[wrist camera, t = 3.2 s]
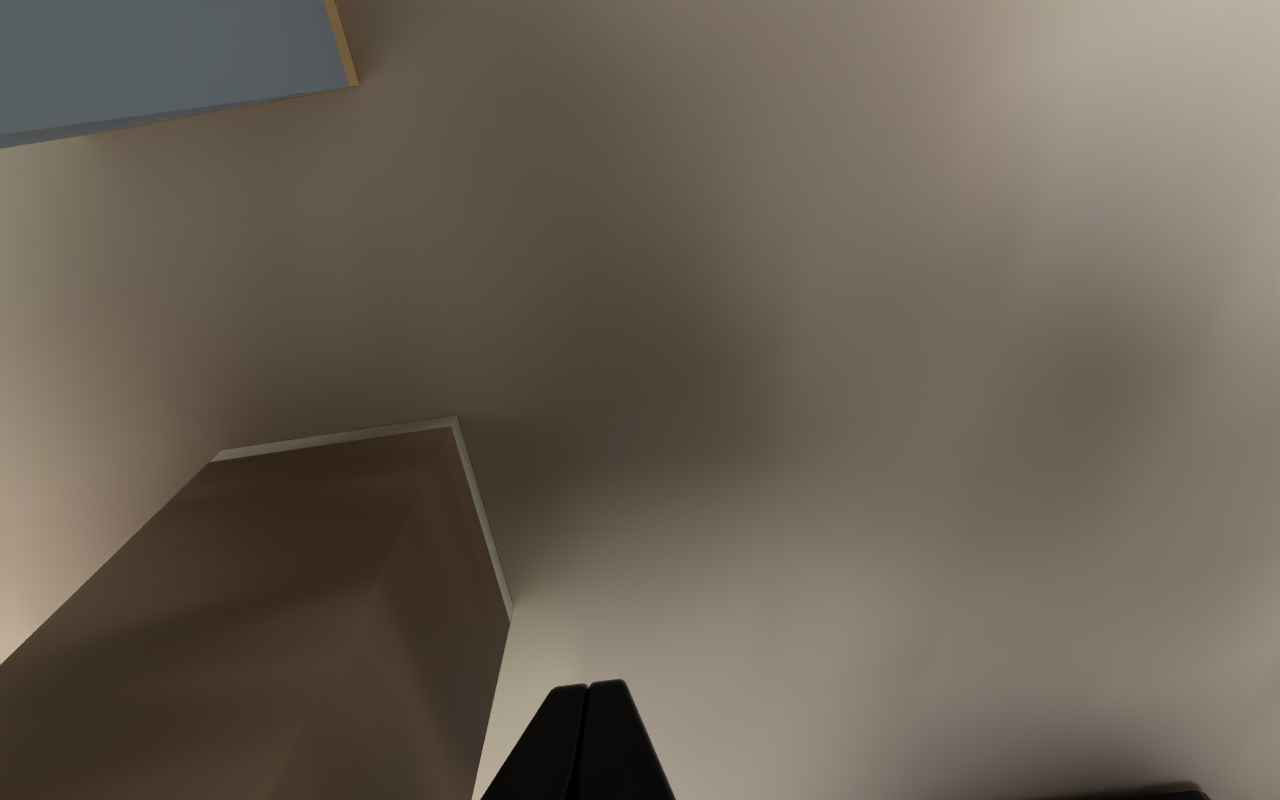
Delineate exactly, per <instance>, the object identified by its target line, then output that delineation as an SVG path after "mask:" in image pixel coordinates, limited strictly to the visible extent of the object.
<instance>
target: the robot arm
mask: <svg viewBox="0 0 1280 800" xmlns="http://www.w3.org/2000/svg"><path fill="white" fill-rule="evenodd" d="M481 800H676V799H675V796H674V794H673V792H672V789H671V787H670V785H669V782H668V780H667V778H666V775H665V773H664V771H663V768H662V766H661V764H660V761H659V759H658V757H657V754H656V752H655V750H654V747H653V745H652V743H651V740H650V738H649V736H648V733H647V731H646V729H645V726H644V724H643V722H642V719H641V717H640V715H639V712H638V710H637V708H636V705H635V703H634V701H633V698H632V696H631V694H630V691H629V689H628V687H627V684H626V683H625V681H624V680H622V679H615V680H607V681H598V682H593V683H592V684H591V685H590V687H588V685H586V684H573V685H565V686H558V687H555V688H554V689H552V690H551V691H550V693H549V694H548V696H547V697H546V699H545V700H544V702H543V703H542V705H541V706H540V708H539V710H538V711H537V713H536V714H535V716H534V717H533V719H532V720H531V722H530V724H529V725H528V727H527V728H526V730H525V731H524V733H523V734H522V736H521V738H520V739H519V741H518V742H517V744H516V745H515V747H514V748H513V750H512V752H511V753H510V755H509V756H508V758H507V759H506V761H505V762H504V764H503V765H502V767H501V769H500V770H499V772H498V773H497V775H496V776H495V778H494V779H493V781H492V783H491V784H490V786H489V787H488V789H487V790H486V792H485V793H484V795H483V797H482V798H481ZM1110 800H1211V799H1210V798H1209V797H1208V796H1207V795H1206V794H1205V793H1203V792H1200V791H1182V792H1173V793H1164V794H1155V795H1146V796H1137V797H1128V798H1119V799H1110Z"/></svg>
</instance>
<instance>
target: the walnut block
mask: <svg viewBox="0 0 1280 800" xmlns="http://www.w3.org/2000/svg"><path fill="white" fill-rule="evenodd" d="M512 613H513V604H512V601H511V598H510V594H509V591H508V587H507V584H506V581H505V577H504V574H503V570H502V567H501V564H500V560H499V557H498V553H497V550H496V547H495V543H494V540H493V537H492V533H491V530H490V526H489V523H488V520H487V516H486V513H485V509H484V506H483V503H482V499H481V496H480V492H479V489H478V486H477V482H476V479H475V475H474V472H473V469H472V465H471V462H470V458H469V455H468V452H467V448H466V445H465V441H464V438H463V435H462V431H461V428H460V424H459V421H458V418H457V415H452V416H446V417H439V418H432V419H426V420H419V421H412V422H406V423H399V424H392V425H386V426H379V427H373V428H366V429H359V430H353V431H346V432H339V433H333V434H326V435H319V436H313V437H306V438H299V439H293V440H286V441H279V442H273V443H266V444H259V445H253V446H246V447H239V448H233V449H226V450H221V451H220V452H219V453H218V454H217V455H216V456H215V457H214V458H213V459H212V460H211V461H210V462H209V463H208V464H207V465H206V466H205V467H204V468H203V469H202V470H201V471H200V472H199V473H198V474H197V475H196V476H195V477H193V478H192V479H191V480H190V481H189V482H188V483H187V484H186V485H185V486H184V487H183V488H182V489H181V490H180V491H179V492H178V493H177V494H176V495H175V496H174V497H173V498H172V499H171V500H170V501H169V502H168V503H167V504H166V505H165V506H164V507H163V508H162V509H161V510H159V511H158V512H157V513H156V514H155V515H154V516H153V517H152V518H151V519H150V520H149V521H148V522H147V523H146V524H145V525H144V526H143V527H142V528H141V529H140V530H139V531H138V532H137V533H136V534H135V535H134V536H133V537H132V538H131V539H130V540H129V541H128V542H127V543H126V544H124V545H123V546H122V547H121V548H120V549H119V550H118V551H117V552H116V553H115V554H114V555H113V556H112V557H111V558H110V559H109V560H108V561H107V562H106V563H105V564H104V565H103V566H102V567H101V568H100V569H99V570H98V571H97V572H96V573H95V574H94V575H93V576H92V577H91V578H89V579H88V580H87V581H86V582H85V583H84V584H83V585H82V586H81V587H80V588H79V589H78V590H77V591H76V592H75V593H74V594H73V595H72V596H71V597H70V598H69V599H68V600H67V601H66V602H65V603H64V604H63V605H62V606H61V607H60V608H59V609H58V610H57V611H56V612H54V613H53V614H52V615H51V616H50V617H49V618H48V619H47V620H46V621H45V622H44V623H43V624H42V625H41V626H40V627H39V628H38V629H37V630H36V631H35V632H34V633H33V634H32V635H31V636H30V637H29V638H28V639H27V640H26V641H25V642H24V643H23V644H22V645H20V646H19V647H18V648H17V649H16V650H15V651H14V652H13V653H12V654H11V655H10V656H9V657H8V658H7V659H6V660H5V661H4V662H3V663H2V664H1V665H0V800H471V799H472V794H473V790H474V785H475V781H476V776H477V771H478V767H479V762H480V758H481V753H482V749H483V744H484V740H485V735H486V731H487V726H488V722H489V717H490V712H491V708H492V703H493V699H494V694H495V690H496V685H497V681H498V676H499V672H500V667H501V663H502V658H503V653H504V649H505V644H506V640H507V635H508V631H509V626H510V622H511V617H512Z"/></svg>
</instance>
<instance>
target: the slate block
mask: <svg viewBox="0 0 1280 800" xmlns="http://www.w3.org/2000/svg"><path fill="white" fill-rule="evenodd" d="M358 85H359V81H358V78H357V75H356V71H355V68H354V64H353V61H352V58H351V54H350V51H349V47H348V44H347V41H346V37H345V34H344V30H343V27H342V24H341V20H340V17H339V13H338V10H337V7H336V3H335V0H0V149H1V148H7V147H13V146H20V145H26V144H32V143H38V142H45V141H51V140H57V139H64V138H70V137H76V136H82V135H88V134H93V133H99V132H104V131H110V130H115V129H121V128H126V127H132V126H137V125H143V124H148V123H154V122H159V121H165V120H171V119H176V118H182V117H187V116H193V115H198V114H204V113H209V112H215V111H220V110H226V109H231V108H237V107H242V106H248V105H253V104H259V103H264V102H270V101H275V100H281V99H286V98H292V97H297V96H303V95H308V94H314V93H320V92H325V91H331V90H336V89H342V88H347V87H353V86H358Z"/></svg>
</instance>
